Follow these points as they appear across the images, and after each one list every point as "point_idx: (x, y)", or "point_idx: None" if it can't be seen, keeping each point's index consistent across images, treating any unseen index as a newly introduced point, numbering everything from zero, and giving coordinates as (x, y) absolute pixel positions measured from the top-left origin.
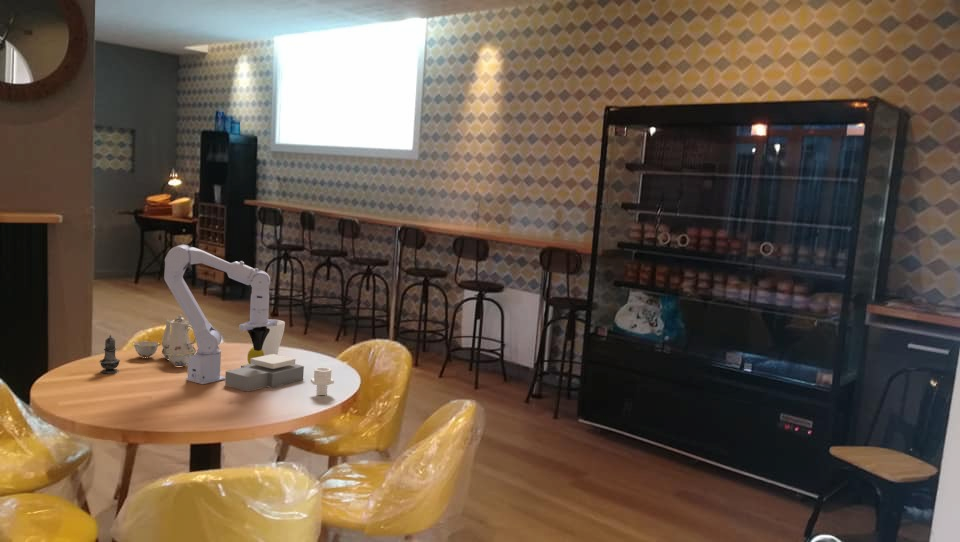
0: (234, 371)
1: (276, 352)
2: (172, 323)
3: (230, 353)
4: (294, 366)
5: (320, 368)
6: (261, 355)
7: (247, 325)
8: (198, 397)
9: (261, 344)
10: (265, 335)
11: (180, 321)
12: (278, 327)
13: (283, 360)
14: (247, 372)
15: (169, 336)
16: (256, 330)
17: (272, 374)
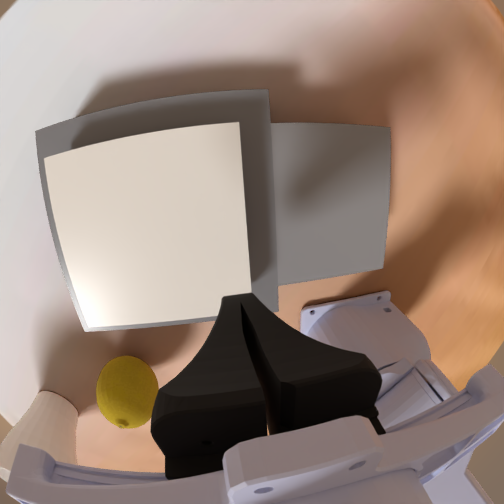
0: (366, 245)
1: (36, 403)
2: None
3: (129, 461)
4: (70, 149)
5: None
6: (114, 379)
7: (499, 409)
8: (461, 192)
9: (240, 313)
10: (214, 363)
11: None
12: (12, 461)
13: (119, 162)
14: (343, 194)
15: None
16: (350, 415)
17: (267, 90)
